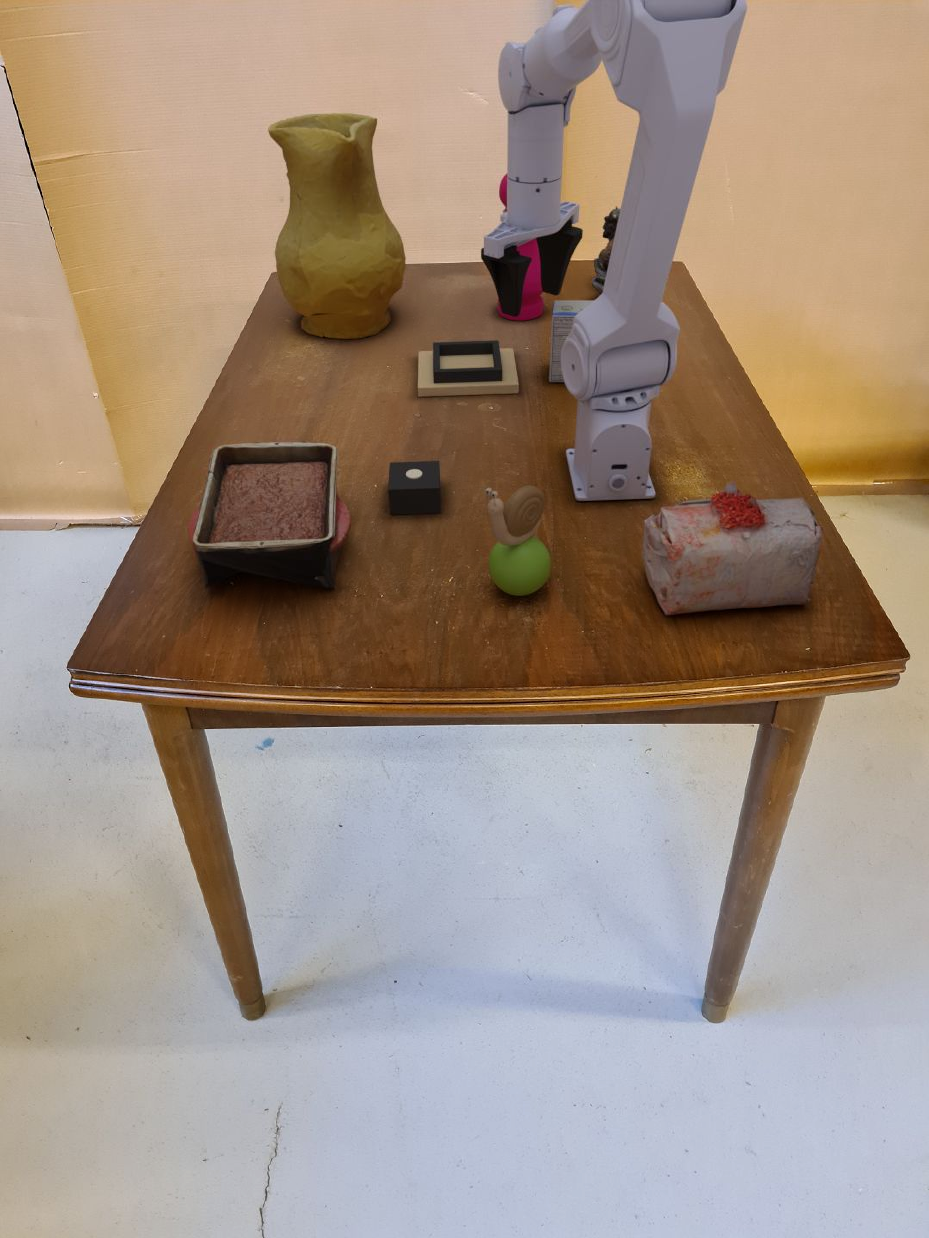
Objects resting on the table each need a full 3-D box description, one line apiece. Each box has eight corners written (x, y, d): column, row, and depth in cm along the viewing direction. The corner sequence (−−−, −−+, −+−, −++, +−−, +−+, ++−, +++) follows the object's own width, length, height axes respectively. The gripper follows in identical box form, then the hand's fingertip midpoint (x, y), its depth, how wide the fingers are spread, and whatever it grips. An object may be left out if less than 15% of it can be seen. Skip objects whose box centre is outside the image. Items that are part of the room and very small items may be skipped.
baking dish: (365, 520, 92) (348, 427, 87) (345, 613, 77) (324, 506, 72) (227, 533, 93) (202, 441, 88) (180, 627, 78) (147, 523, 73)
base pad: (518, 393, 108) (519, 372, 106) (418, 397, 108) (416, 376, 106) (512, 356, 116) (513, 336, 114) (419, 360, 116) (417, 339, 114)
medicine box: (613, 368, 113) (619, 300, 107) (614, 385, 109) (620, 315, 103) (549, 367, 113) (552, 298, 108) (548, 383, 110) (551, 314, 104)
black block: (440, 513, 90) (439, 486, 88) (390, 515, 90) (387, 488, 88) (440, 485, 93) (439, 459, 91) (391, 487, 93) (389, 460, 91)
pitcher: (275, 348, 118) (248, 133, 103) (291, 299, 133) (270, 105, 117) (406, 347, 119) (399, 133, 103) (409, 299, 133) (402, 106, 118)
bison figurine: (642, 308, 126) (650, 234, 120) (591, 308, 127) (596, 234, 120) (635, 276, 135) (642, 205, 129) (588, 276, 136) (592, 205, 129)
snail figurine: (468, 594, 80) (464, 478, 72) (517, 562, 83) (519, 448, 76) (512, 622, 77) (514, 504, 69) (562, 588, 80) (569, 472, 73)
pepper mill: (487, 306, 128) (486, 151, 115) (535, 298, 130) (539, 145, 116) (504, 325, 123) (505, 166, 110) (554, 318, 124) (561, 160, 111)
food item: (654, 626, 76) (669, 531, 70) (633, 568, 82) (645, 475, 76) (813, 615, 77) (842, 519, 70) (781, 558, 83) (805, 465, 76)
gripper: (545, 154, 101) (541, 276, 110) (460, 186, 93) (463, 315, 102) (598, 164, 97) (589, 290, 106) (514, 198, 89) (512, 331, 98)
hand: (531, 303), depth 104 cm, fingers open, 7 cm apart
